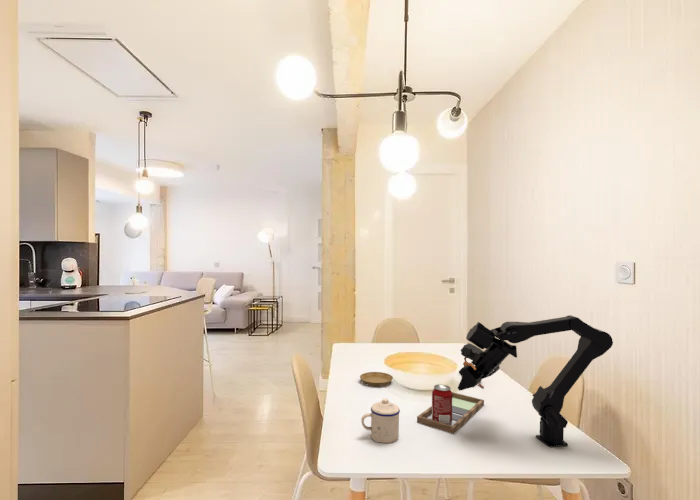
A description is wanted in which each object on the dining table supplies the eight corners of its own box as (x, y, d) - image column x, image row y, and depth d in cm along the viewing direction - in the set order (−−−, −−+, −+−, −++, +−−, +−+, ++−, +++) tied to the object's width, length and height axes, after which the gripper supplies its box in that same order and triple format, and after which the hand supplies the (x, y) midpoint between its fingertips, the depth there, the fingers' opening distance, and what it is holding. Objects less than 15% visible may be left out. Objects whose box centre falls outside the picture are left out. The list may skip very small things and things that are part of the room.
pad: (472, 412, 137) (472, 411, 137) (445, 404, 143) (445, 403, 143) (480, 405, 143) (480, 404, 143) (453, 398, 150) (453, 397, 150)
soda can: (452, 427, 124) (453, 391, 124) (431, 425, 125) (432, 389, 125) (451, 419, 130) (451, 384, 131) (431, 417, 132) (432, 383, 132)
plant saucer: (370, 390, 157) (370, 384, 157) (354, 379, 170) (354, 374, 170) (399, 385, 164) (399, 379, 164) (381, 375, 177) (381, 370, 177)
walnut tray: (453, 434, 119) (453, 427, 119) (417, 422, 127) (417, 416, 127) (483, 405, 143) (483, 400, 143) (451, 396, 151) (451, 391, 151)
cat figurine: (490, 390, 162) (491, 358, 162) (476, 390, 161) (477, 359, 160) (469, 375, 180) (470, 346, 179) (456, 375, 178) (457, 347, 178)
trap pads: (461, 422, 128) (461, 421, 128) (432, 413, 134) (432, 413, 134) (472, 412, 136) (472, 411, 136) (444, 404, 143) (444, 404, 143)
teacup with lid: (395, 429, 122) (396, 393, 122) (402, 443, 113) (403, 404, 113) (359, 430, 120) (359, 394, 121) (363, 445, 111) (364, 405, 112)
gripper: (487, 331, 130) (461, 359, 138) (461, 342, 117) (434, 373, 124) (512, 356, 125) (484, 384, 132) (488, 371, 111) (458, 401, 118)
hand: (465, 385), depth 127 cm, fingers open, 9 cm apart
